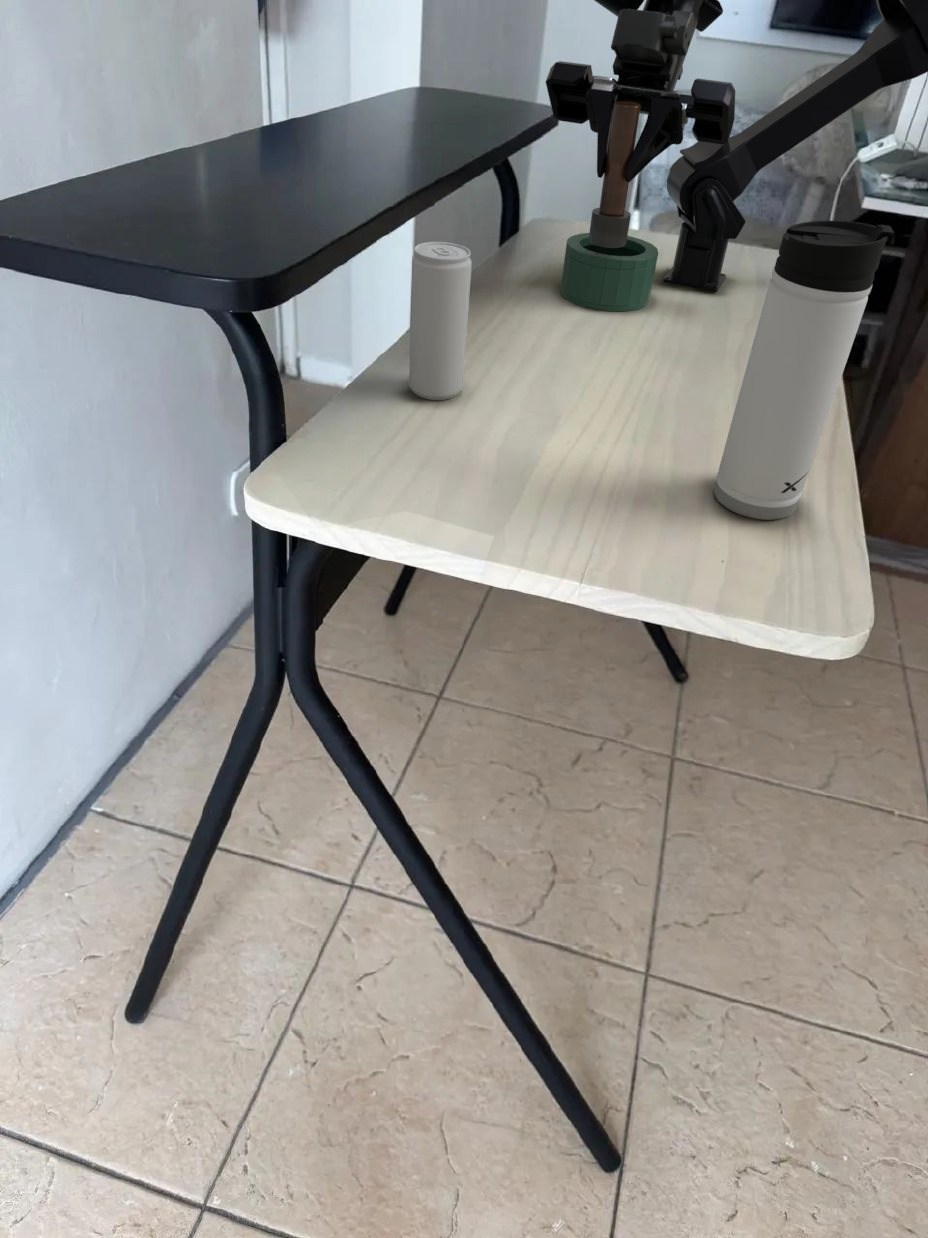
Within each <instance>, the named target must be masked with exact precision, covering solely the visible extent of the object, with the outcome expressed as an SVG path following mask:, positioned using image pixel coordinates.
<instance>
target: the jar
mask: <svg viewBox="0 0 928 1238" xmlns="http://www.w3.org/2000/svg"><path fill="white" fill-rule="evenodd" d="M588 240H589V232H581V233H578V234H573V235H570V237H568V238H567V239H566V244H565V245H566V246H565V254H564V258H563V259H564V261H563V267H562V276H561V282H560V294H561V296H562V297H563V298H564V299H565V300H567V301H568V302H571V303H573V304H575V305H577V306H581V307H584V308H587V309H592V310H598V311H603V312H604V311H605V312H630V311H631V312H632V311H636V310H640V309H643V308H645V307H646V306H647V305H648V303H649V300H650V298H651V293H652V288H653V282H654V277H655V272H656V268H657V263H658V257H659V249H658V247H657V246H655V245H654V244H653V243H651V242H648V241H647V240H644V239H641V238H639V237H634V236H630V235H628V236H627V242H626V245H625V246H624V247H620V248H605V247H599V246H596V245H593V244H591V243H590V242H589V241H588Z"/></svg>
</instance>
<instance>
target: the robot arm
mask: <svg viewBox="0 0 928 1238" xmlns="http://www.w3.org/2000/svg"><path fill="white" fill-rule="evenodd" d="M593 1H594V2H596V3H597V4H599V5H600V6H602V7H603V8H604V9H606V10H607V11H609V12H610V13H611V14H613V15H614V16H616V17H617V20H616V24H615V27H614V32H613V36H612V41H611V45H610V49H611V51H614V53H615V58H614V61H613V63H612V71H613V75H614V76H618V78H617V80H616V78H613V77H609V76H601V75H593V68H592V64H585V63H578V62H572V61H571V62H569V61H563V60H558V61H556V62H554V64H553V65H552V66H551V67H550V69H549V72H548V74H547V77H546V80H545V85H546V91H547V94H548V98H549V102H550V107H551V111H552V115H553V116H552V117H554V118H555V119H556V120H558V121H559V122H566V123H573V124H579V125H582V124H585V123H586V122H588V123H589V128H590V130H591V132H593V133H597V135H596V137H597V140H596V142H597V143H596V144H597V147H596V148H597V149H596V154H597V155H596V175H597V178H600V179H603V177H604V172H605V165H606V157H607V150H608V143H609V136H610V128H611V121H612V114H613V107H614V103H615V102H618V101H627V102H634V103H638V104H640V105H641V107H640V115H641V114H642V115H647V118H646V122H645V124H644V126H643V129H642V131H641V133H640V135H639V137H638V140H637V142H636V143H635V147H634V151H633V154H632V156H631V158H630V161H629V164H628V167H627V170H626V174H625V180H626V182H629V183H631V182H632V180H634V179H635V178H636V177H637V176H638V175H639V174H640V173H641V172H642V171H643V170H644V169H645V168H646V167H647V166H648V165H649V164H650V163H651V162H652V161H653V160H654V159H655V158H657V157H658V156H659V155H660V154H662V153H664V151H665V150H667V149H668V148H669V147H671V146H673V145H676V146H677V145H679V146H680V145H681V144H682V143H683V140H684V130H685V127H686V125H687V124H689V123H688V122H689V119H693V120H694V123H693V125H692V128H691V134H692V135H693V137H694V138H695V140H696V142H695V143H694V144H692V145H691V146H689V147H687V148H682V149H680V150H679V153H680V154H681V155H682V156H680V157H678V159H677V160H676V161H675V162H673V163H672V164H671V166H670V167H669V172H668V175H667V178H666V190H667V193H668V196H669V197H670V199H671V200H672V202H673V203H674V204H675V205H676V212H677V217H679V218H680V219H681V220H683V222H682V223H681V225H680V230H679V235H678V241H677V244H676V250H675V254H674V259H673V264H672V267H671V268H670V269H669V270H668V272H666V275H664V277H663V279H662V282H663V283H665V284H668V285H669V284H670V285H673V286H674V285H675V286H679V287H684V288H688V289H695V290H699V291H703V292H709V293H717V292H718V291H719V290H720V288H721V287H722V285H723V284H724V282H725V280H726V278H727V274H725V273H722V270H723V266H724V263H725V262H724V261H725V258H726V253H727V249H728V245H729V241H730V240H736V239H737V238H738V236H739V235H740V233H741V231H742V229H743V227H744V226H745V224H746V219H745V218H744V215H742V212H740V210H739V209H738V206H737V205H736V204H735V201H736V200H737V199H738V198H739V197H740V196H741V195H742V194H743V193H744V191H745V190H746V188H747V187H748V186H749V185H750V183H751V182H752V181H753V179H754V178H755V177H756V175H757V174H758V172H759V171H761V170H762V169H763V168H765V167H766V166H768V165H769V164H771V163H772V162H773V161H774V162H775V160H777V159H779V158H780V157H781V156H782V155H785V154H786V153H787V152H789V151H790V150H791V149H793V148H794V147H796V146H797V145H800V144H801V143H802V142H803V141H805V140H807V139H808V138H809V137H811V136H813V135H814V134H816V133H817V132H818V131H820V130H821V129H822V128H824V127H826V126H827V125H829V124H830V123H832V122H833V121H835V120H836V119H838V118H839V117H840V116H842V115H844V114H845V113H846V112H848V111H850V110H851V109H852V108H854V107H855V106H857V105H858V104H859V103H861V102H863V101H864V100H866V99H867V98H869V97H871V96H872V95H874V94H875V93H876V92H878V91H880V90H882V89H884V88H887V87H890V86H893V85H896V84H899V83H903V82H906V81H909V80H913V79H916V78H919V77H920V76H922V75H925V74H927V73H928V0H875V2H876V5H877V6H876V7H877V9H878V11H879V13H880V15H881V18H882V21H880V22H879V23H878V24H877V25H876V26H875V27H874V29H873V30H872V31H871V33H870V34H869V35H868V37H867V38H866V40H865V41H864V42H863V44H862V45H861V46H860V48H859V49H858V50H857V51H855V53H853V54H852V55H851V56H849V57H848V58H846V59H845V60H844V61H842V62H841V63H839V64H838V65H836V66H835V67H833V68H832V69H830V70H829V71H828V72H826V73H825V74H823V75H822V76H820V77H819V78H817V79H816V80H814V81H813V82H811V83H810V84H808V85H807V86H805V87H804V88H802V90H799V92H797V93H796V94H794V95H793V96H790V97H789V98H788V99H787V100H785V101H784V102H782V103H781V104H779V105H778V106H777V107H775V108H774V109H773V110H771V111H769V112H768V113H767V114H765V115H763V116H762V117H761V118H759V119H758V120H756V121H755V122H754V123H752V124H750V125H749V126H747V127H746V128H745V129H744V130H742V131H740V132H739V133H737V134H735V135H732V136H731V133H732V130H733V127H734V123H735V115H736V114H735V113H736V89H735V87H734V84H733V83H732V82H729V81H720V80H714V79H705V78H695V79H694V80H693V82H692V86H691V88H690V94H683V93H681V91H678V90H675V88H676V85H677V82H678V81H680V80H681V78H682V75H683V73H684V67H683V66H684V62H685V60H686V57H687V55H688V52H689V48H690V45H691V43H692V40H693V38H694V35H695V32H696V30H697V31H699V32H701V33H703V32H704V31H705V30H706V29H708V28H709V26H711V25H712V24H713V23H714V22H716V20H717V19H718V18H719V17H720V16H722V14H723V13H724V8H723V6H722V4H721V1H720V0H593ZM643 3H644V6H643V8H642V10H641V9H639V8H640V7H641V6H642V4H643Z"/></svg>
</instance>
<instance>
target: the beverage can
mask: <svg viewBox="0 0 928 1238" xmlns="http://www.w3.org/2000/svg"><path fill="white" fill-rule="evenodd" d="M413 250H414V254H413V255H412V258H411V281H410V283H411V284H410V311H409V314H410V318H409V371H408V372H409V373H408V386H409V388H410V390H411V391H412V393H413V394H414V395H416V396H417V397H420V398H421V399H426V400H431V401H446V400H450V399H452V398H455V397H456V396H457V395H459V394H460V393H461V391H462V390H463V388H464V387H463V386H464V378H465V377H464V374H465V363H466V362H465V361H466V348H467V333H468V320H469V308H470V295H471V294H470V292H471V279H472V265H473V264H472V263H473V262H472V259H471V258H470V257H471V254H472V252H471V250H470V249H469V248H468V247H466V246H464V245H461V244H457V243H453V242H446V241H428V242H422V243H419V244H417V245H415V247H414V249H413Z"/></svg>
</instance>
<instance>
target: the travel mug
mask: <svg viewBox="0 0 928 1238" xmlns="http://www.w3.org/2000/svg"><path fill="white" fill-rule="evenodd" d="M895 237H896V233H895V232H894V230H893V229H892V227H891V226H890V225H887V224H877V225H872V224H869V223H863V222H857V221H851V220H850V221H849V220H814V221H813V220H811V221H803V222H799V223H796V224H793V225H790V226H789V227H788V228H787V229H786V232H785V233H783V235H782V239H781V242H780V246H779V248H778V249H779V250H778V255H779V256H777V258H776V260H775V264H774V266H773V268H772V272H771V278H770V280H769V282H768V287H767V290H766V294H765V298H764V301H763V305H762V307H761V312H760V316H759V320H758V322H757V323H758V324H757V327H756V330H755V335H754V338H753V341H752V345H751V349H750V353H749V357H748V359H747V363H746V367H745V371H744V374H743V377H742V378H743V379H742V382H741V386H740V389H739V393H738V396H737V401H736V404H735V408H734V411H733V415H732V419H731V423H730V426H729V430H728V434H727V437H726V441H725V444H724V448H723V451H722V456H721V459H720V463H719V467H718V472H717V474H716V478H715V481H714V484H713V488H712V489H713V494H714V497H715V498H716V500H717V502H719V503H720V504H721V505H722V506H724V507H725V508H726V509H728V510H729V511H731V512H733V513H735V514H737V515H740V516H744V517H746V518H749V519H750V518H751V519H755V520H763V521H772V520H773V521H774V520H780V519H784V518H787V517H789V516H791V515H792V514H794V513H795V512H796V510H797V509H798V506H799V503H800V500H801V497H802V493H803V490H804V488H805V485H806V482H807V480H808V477H809V474H810V471H811V468H812V465H813V462H814V459H815V457H816V453H817V450H818V448H819V444H820V442H821V438H822V436H823V432H824V430H825V427H826V424H827V422H828V418H829V415H830V412H831V409H832V406H833V403H834V400H835V397H836V394H837V391H838V388H839V386H840V382H841V380H842V377H843V374H844V371H845V367H846V364H847V363H848V359H849V356H850V353H851V350H852V347H853V344H854V341H855V338H856V336H857V333H858V330H859V327H860V325H861V321H862V318H863V315H864V312H865V309H866V306H867V303H868V300H869V295H870V293H871V291H872V289H873V282H874V280H875V277H876V276H875V272H877V270H878V268H879V265H880V262H881V261H880V260H881V258H882V255H883V251H884V248H885V246H886V243H888V244H889V245H891V246H893V244H894V242H895Z"/></svg>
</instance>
